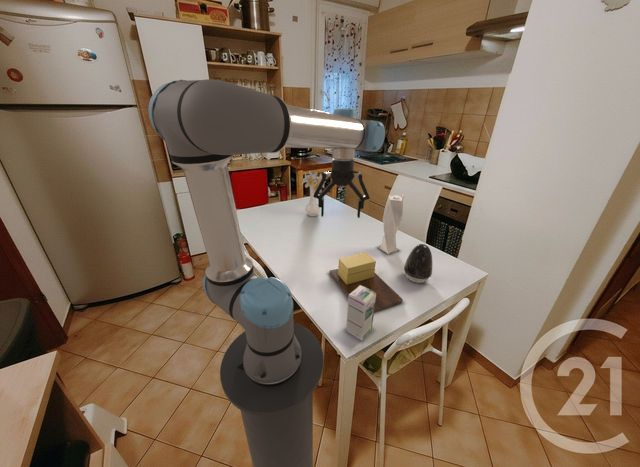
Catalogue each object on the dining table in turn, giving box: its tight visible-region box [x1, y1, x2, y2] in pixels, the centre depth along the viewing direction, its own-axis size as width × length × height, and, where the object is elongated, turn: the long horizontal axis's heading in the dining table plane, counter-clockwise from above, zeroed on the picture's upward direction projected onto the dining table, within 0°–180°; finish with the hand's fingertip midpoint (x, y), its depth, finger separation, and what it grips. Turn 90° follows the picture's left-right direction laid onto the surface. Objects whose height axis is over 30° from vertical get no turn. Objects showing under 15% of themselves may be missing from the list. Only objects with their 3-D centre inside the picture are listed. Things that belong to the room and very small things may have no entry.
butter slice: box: [338, 252, 377, 275], centre depth 99 cm, size 12×7×3 cm, turn 114°
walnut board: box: [328, 268, 404, 313], centre depth 98 cm, size 16×25×2 cm, turn 24°
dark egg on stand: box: [403, 243, 434, 284], centre depth 99 cm, size 10×10×15 cm
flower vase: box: [300, 170, 326, 217], centre depth 151 cm, size 13×18×25 cm
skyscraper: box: [377, 193, 405, 255], centre depth 115 cm, size 8×8×28 cm
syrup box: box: [346, 285, 376, 341], centre depth 76 cm, size 6×6×14 cm
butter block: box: [337, 265, 376, 284], centre depth 101 cm, size 12×7×4 cm, turn 114°
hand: (340, 215), depth 99 cm, fingers open, 13 cm apart
